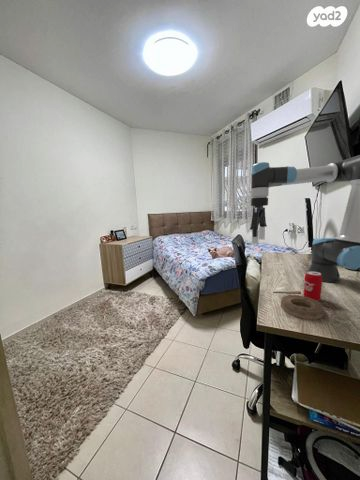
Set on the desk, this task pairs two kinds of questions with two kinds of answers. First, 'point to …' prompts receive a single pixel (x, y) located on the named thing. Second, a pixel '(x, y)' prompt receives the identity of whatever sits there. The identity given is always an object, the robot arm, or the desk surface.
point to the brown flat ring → (311, 312)
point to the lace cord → (286, 291)
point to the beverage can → (313, 285)
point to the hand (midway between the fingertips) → (258, 241)
